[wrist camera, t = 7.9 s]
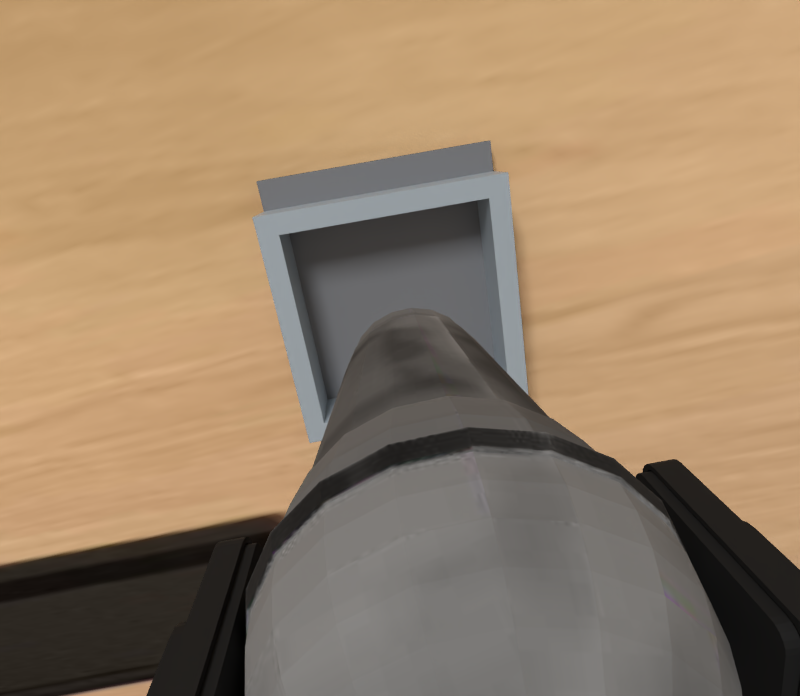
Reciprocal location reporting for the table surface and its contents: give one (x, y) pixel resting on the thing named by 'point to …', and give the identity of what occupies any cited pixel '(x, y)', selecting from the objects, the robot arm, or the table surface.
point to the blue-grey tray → (389, 260)
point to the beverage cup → (471, 548)
